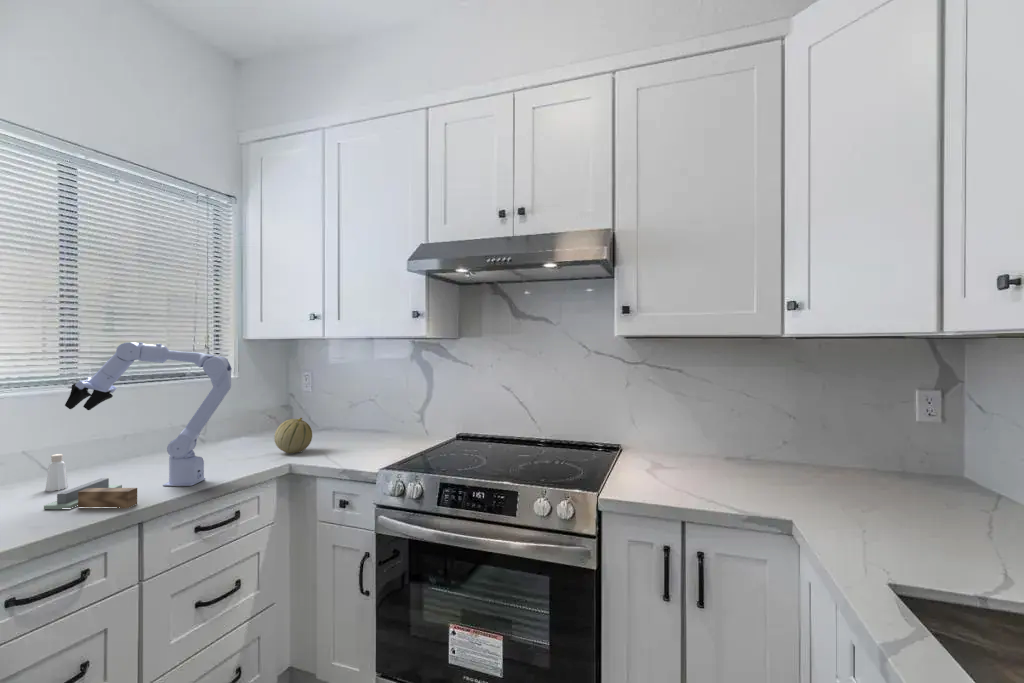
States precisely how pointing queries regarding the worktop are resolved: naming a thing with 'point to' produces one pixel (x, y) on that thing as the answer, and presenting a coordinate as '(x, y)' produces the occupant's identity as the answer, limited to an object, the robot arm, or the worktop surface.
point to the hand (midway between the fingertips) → (77, 407)
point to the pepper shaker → (56, 474)
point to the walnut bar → (107, 497)
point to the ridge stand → (71, 496)
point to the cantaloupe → (293, 436)
